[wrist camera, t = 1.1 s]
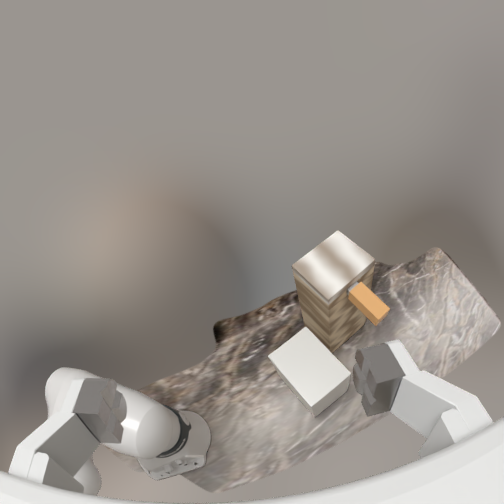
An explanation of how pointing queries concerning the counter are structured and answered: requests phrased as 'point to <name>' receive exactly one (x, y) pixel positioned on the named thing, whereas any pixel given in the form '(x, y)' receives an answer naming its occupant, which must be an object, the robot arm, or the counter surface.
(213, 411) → the counter surface
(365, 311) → the plug
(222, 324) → the counter surface
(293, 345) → the pedestal
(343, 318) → the socket tower
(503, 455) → the robot arm
